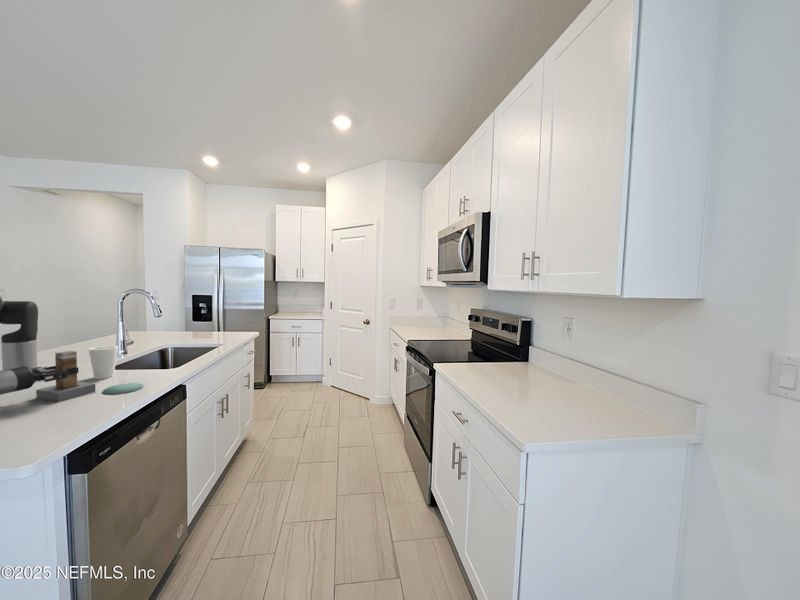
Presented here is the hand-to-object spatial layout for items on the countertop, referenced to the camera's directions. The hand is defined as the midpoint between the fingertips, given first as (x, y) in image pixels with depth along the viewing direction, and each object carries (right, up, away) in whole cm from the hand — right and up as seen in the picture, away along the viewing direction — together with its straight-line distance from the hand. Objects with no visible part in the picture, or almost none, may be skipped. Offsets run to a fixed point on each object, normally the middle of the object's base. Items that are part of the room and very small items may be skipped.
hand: (69, 368), depth 121 cm
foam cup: (-7, -8, +22) cm, 24 cm away
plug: (0, -10, 0) cm, 10 cm away
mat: (+14, -10, +7) cm, 19 cm away
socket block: (0, -9, 0) cm, 10 cm away
